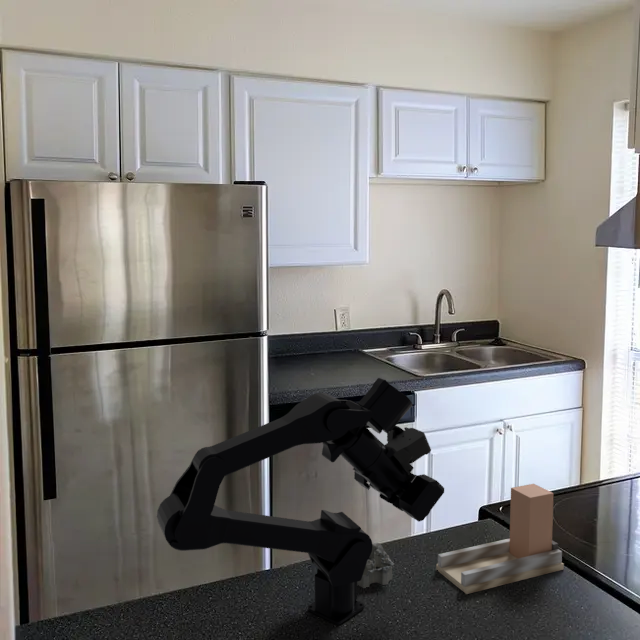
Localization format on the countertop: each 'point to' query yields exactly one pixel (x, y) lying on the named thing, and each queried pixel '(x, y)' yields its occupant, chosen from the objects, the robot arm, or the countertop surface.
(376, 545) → the egg carton
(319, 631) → the countertop surface
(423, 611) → the countertop surface
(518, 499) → the chute block
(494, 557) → the chute
